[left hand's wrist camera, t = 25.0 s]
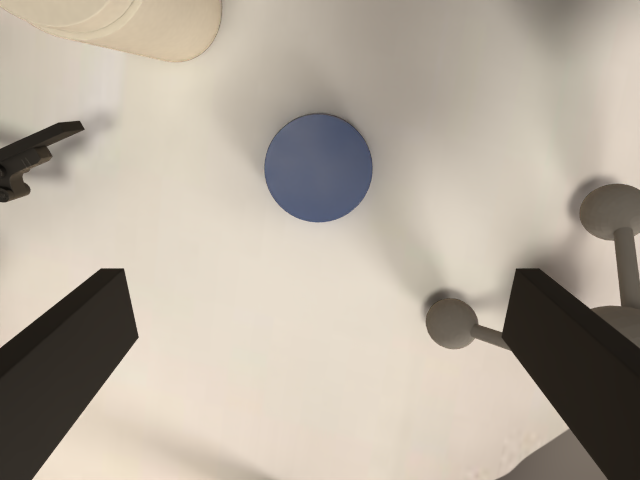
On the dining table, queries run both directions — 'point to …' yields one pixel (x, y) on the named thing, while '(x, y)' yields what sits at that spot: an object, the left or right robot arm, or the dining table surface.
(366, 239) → the dining table surface
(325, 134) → the lid
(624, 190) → the molecular model
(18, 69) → the dining table surface
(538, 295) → the left robot arm
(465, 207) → the dining table surface
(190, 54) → the jar
